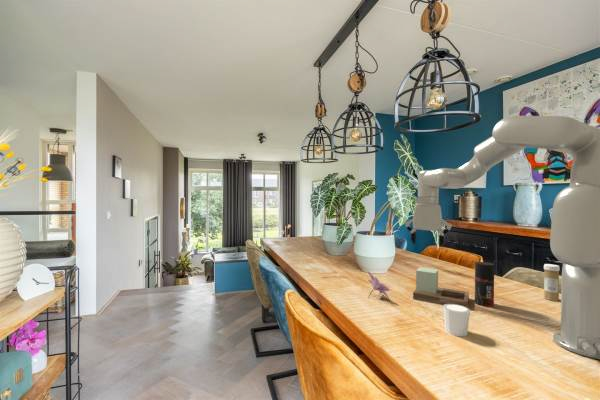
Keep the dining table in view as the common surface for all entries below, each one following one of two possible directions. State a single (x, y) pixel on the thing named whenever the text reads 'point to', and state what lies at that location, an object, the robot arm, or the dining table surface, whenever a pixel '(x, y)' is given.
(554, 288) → the sprinkles bottle
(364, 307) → the dining table surface
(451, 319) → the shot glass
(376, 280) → the lily
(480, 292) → the deodorant
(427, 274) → the green block
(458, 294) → the board
